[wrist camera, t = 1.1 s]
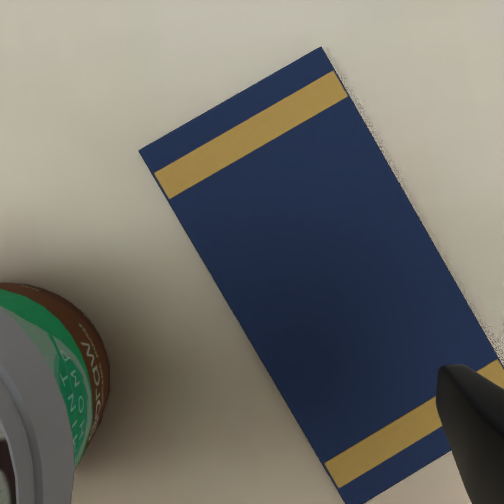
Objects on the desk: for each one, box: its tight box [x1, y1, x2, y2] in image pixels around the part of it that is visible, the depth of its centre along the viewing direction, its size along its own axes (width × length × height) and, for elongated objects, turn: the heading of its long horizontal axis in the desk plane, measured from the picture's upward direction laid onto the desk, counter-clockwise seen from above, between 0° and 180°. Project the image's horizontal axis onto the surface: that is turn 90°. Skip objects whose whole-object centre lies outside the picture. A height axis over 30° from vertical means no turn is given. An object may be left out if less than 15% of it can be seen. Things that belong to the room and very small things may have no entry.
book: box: [139, 47, 504, 504], centre depth 21 cm, size 10×20×1 cm, turn 30°
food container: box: [0, 283, 110, 504], centre depth 16 cm, size 12×6×10 cm, turn 16°
